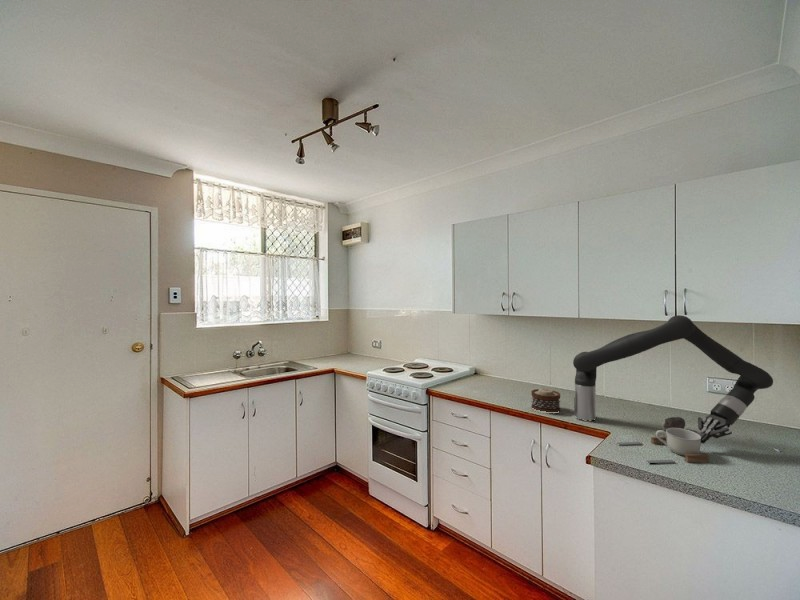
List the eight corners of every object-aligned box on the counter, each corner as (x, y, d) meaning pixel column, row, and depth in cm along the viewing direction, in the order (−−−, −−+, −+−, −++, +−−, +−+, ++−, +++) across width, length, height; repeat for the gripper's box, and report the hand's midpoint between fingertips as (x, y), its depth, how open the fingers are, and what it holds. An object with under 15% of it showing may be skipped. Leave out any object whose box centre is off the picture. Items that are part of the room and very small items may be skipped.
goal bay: (616, 444, 146) (616, 442, 146) (639, 443, 146) (639, 441, 146) (649, 464, 128) (649, 462, 128) (675, 463, 129) (675, 461, 129)
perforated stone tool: (677, 427, 164) (677, 412, 164) (690, 431, 159) (690, 415, 159) (660, 433, 157) (660, 418, 157) (674, 437, 152) (673, 421, 152)
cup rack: (651, 443, 146) (651, 437, 146) (669, 442, 147) (669, 436, 147) (687, 462, 129) (687, 455, 129) (708, 461, 130) (708, 454, 130)
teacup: (701, 452, 137) (701, 432, 137) (700, 462, 129) (700, 440, 129) (657, 442, 147) (657, 423, 147) (654, 451, 139) (654, 431, 139)
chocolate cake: (550, 395, 180) (525, 389, 192) (550, 416, 180) (525, 408, 192) (566, 390, 188) (541, 385, 200) (566, 411, 188) (541, 404, 201)
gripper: (706, 398, 146) (678, 428, 145) (739, 408, 133) (708, 442, 132) (718, 410, 146) (690, 441, 145) (752, 422, 133) (722, 455, 132)
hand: (699, 441), depth 139 cm, fingers closed
